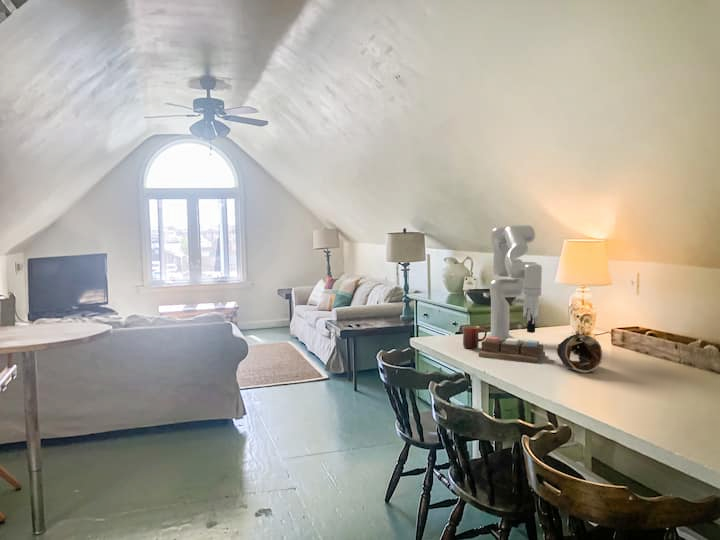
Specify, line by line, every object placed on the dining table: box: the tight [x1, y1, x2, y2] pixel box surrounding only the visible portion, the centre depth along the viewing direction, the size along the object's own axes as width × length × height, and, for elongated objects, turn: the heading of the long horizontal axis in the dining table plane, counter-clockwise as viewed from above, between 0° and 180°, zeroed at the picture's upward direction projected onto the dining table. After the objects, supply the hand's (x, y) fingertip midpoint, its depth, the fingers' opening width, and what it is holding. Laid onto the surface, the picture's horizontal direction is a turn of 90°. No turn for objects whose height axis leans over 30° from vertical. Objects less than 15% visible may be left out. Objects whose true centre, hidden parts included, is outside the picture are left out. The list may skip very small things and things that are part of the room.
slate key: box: [525, 339, 540, 347], centre depth 246 cm, size 5×5×4 cm
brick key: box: [485, 336, 500, 343], centre depth 255 cm, size 5×5×4 cm
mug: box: [461, 325, 488, 350], centre depth 269 cm, size 12×9×10 cm
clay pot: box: [556, 333, 603, 373], centre depth 233 cm, size 15×15×25 cm
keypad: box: [478, 339, 546, 364], centre depth 251 cm, size 16×26×6 cm, turn 59°
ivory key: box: [504, 337, 520, 345], centre depth 251 cm, size 5×5×4 cm
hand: (530, 332), depth 247 cm, fingers closed
